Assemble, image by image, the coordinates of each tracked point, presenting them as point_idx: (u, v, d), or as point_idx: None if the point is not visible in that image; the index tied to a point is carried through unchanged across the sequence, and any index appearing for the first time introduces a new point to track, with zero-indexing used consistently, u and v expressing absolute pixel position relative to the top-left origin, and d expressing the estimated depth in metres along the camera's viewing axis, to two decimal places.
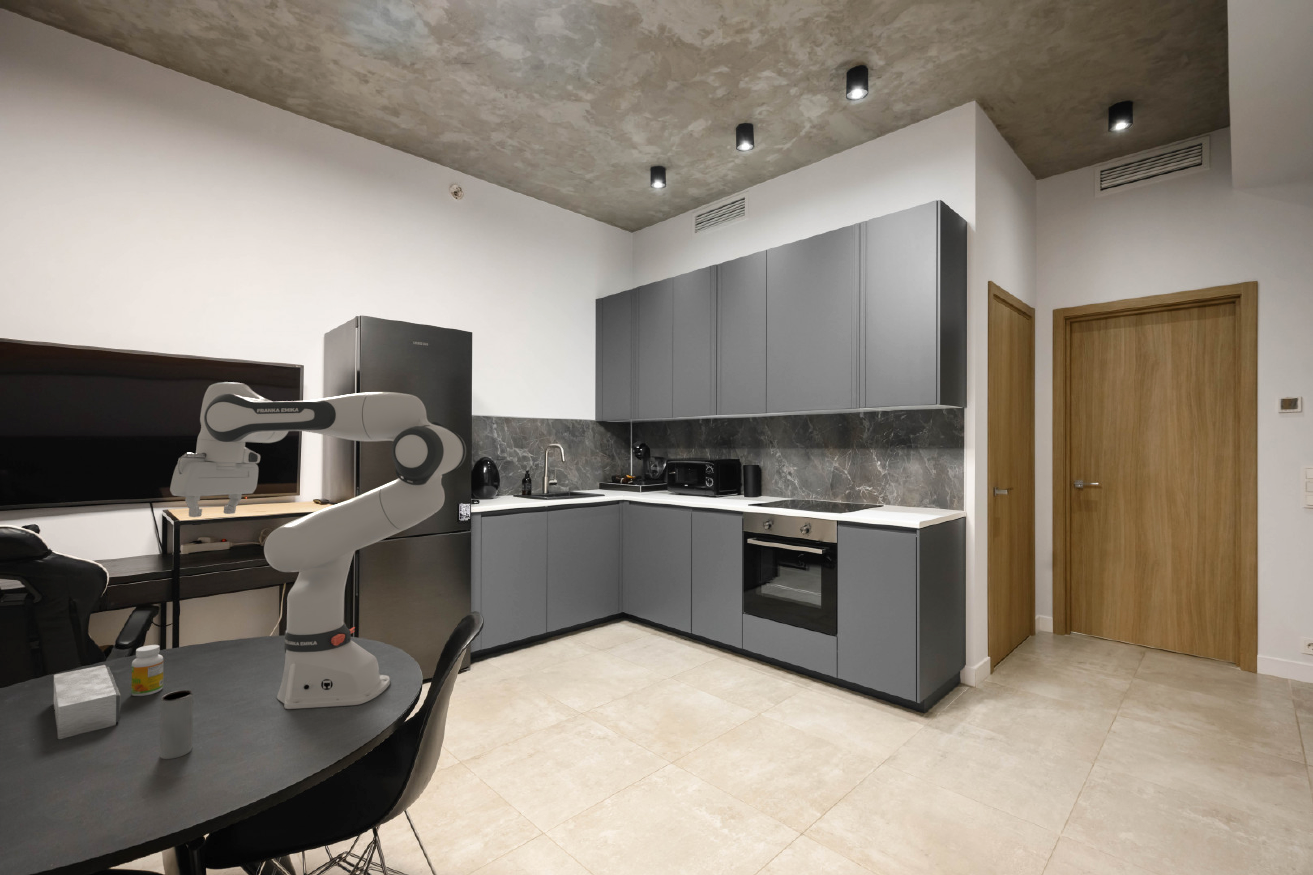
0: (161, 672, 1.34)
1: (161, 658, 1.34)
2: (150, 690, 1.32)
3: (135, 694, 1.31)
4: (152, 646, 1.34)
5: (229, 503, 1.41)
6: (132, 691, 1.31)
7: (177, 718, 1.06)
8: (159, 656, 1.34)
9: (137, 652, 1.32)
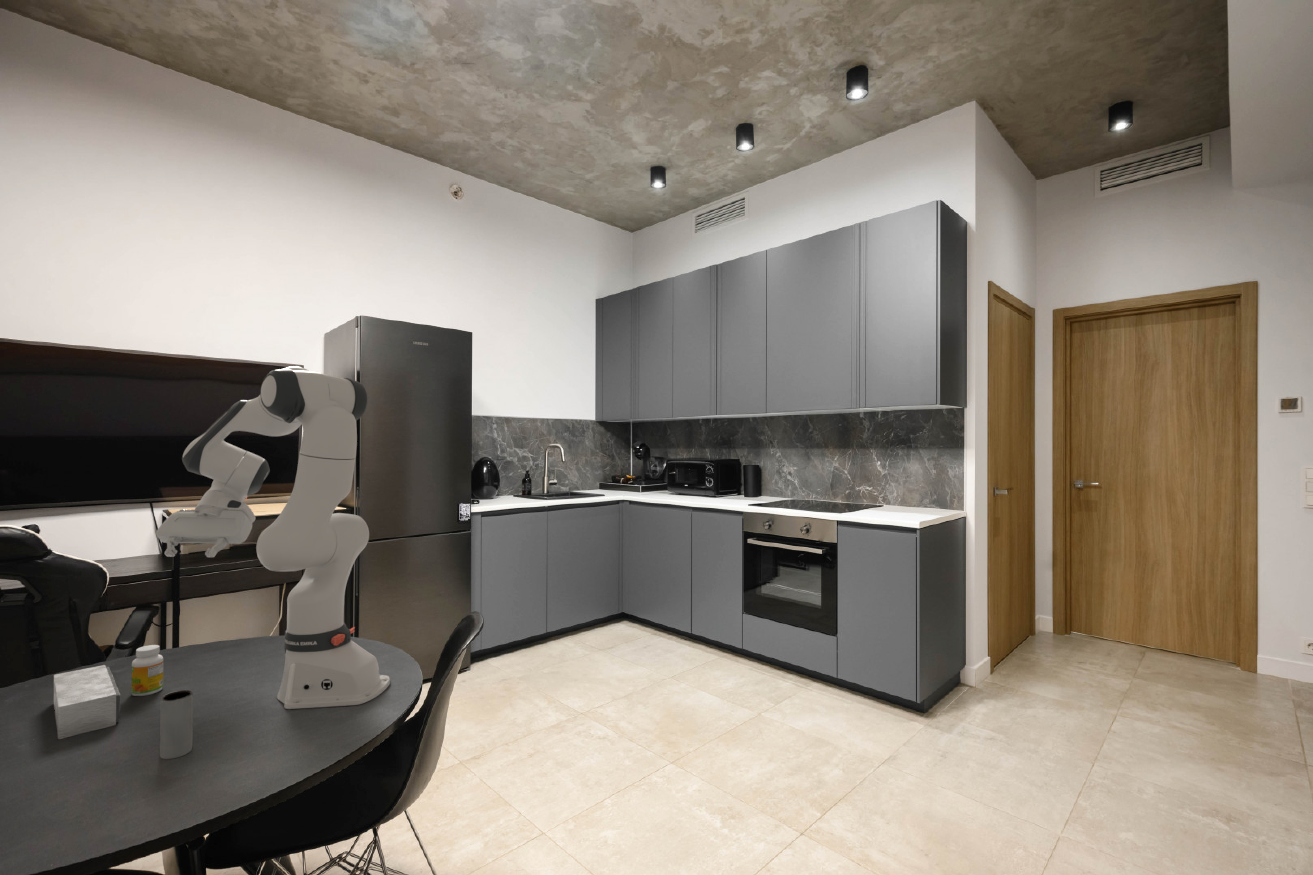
0: (161, 672, 1.34)
1: (161, 658, 1.34)
2: (150, 690, 1.32)
3: (135, 694, 1.31)
4: (152, 646, 1.34)
5: None
6: (132, 691, 1.31)
7: (177, 718, 1.06)
8: (159, 656, 1.34)
9: (137, 652, 1.32)
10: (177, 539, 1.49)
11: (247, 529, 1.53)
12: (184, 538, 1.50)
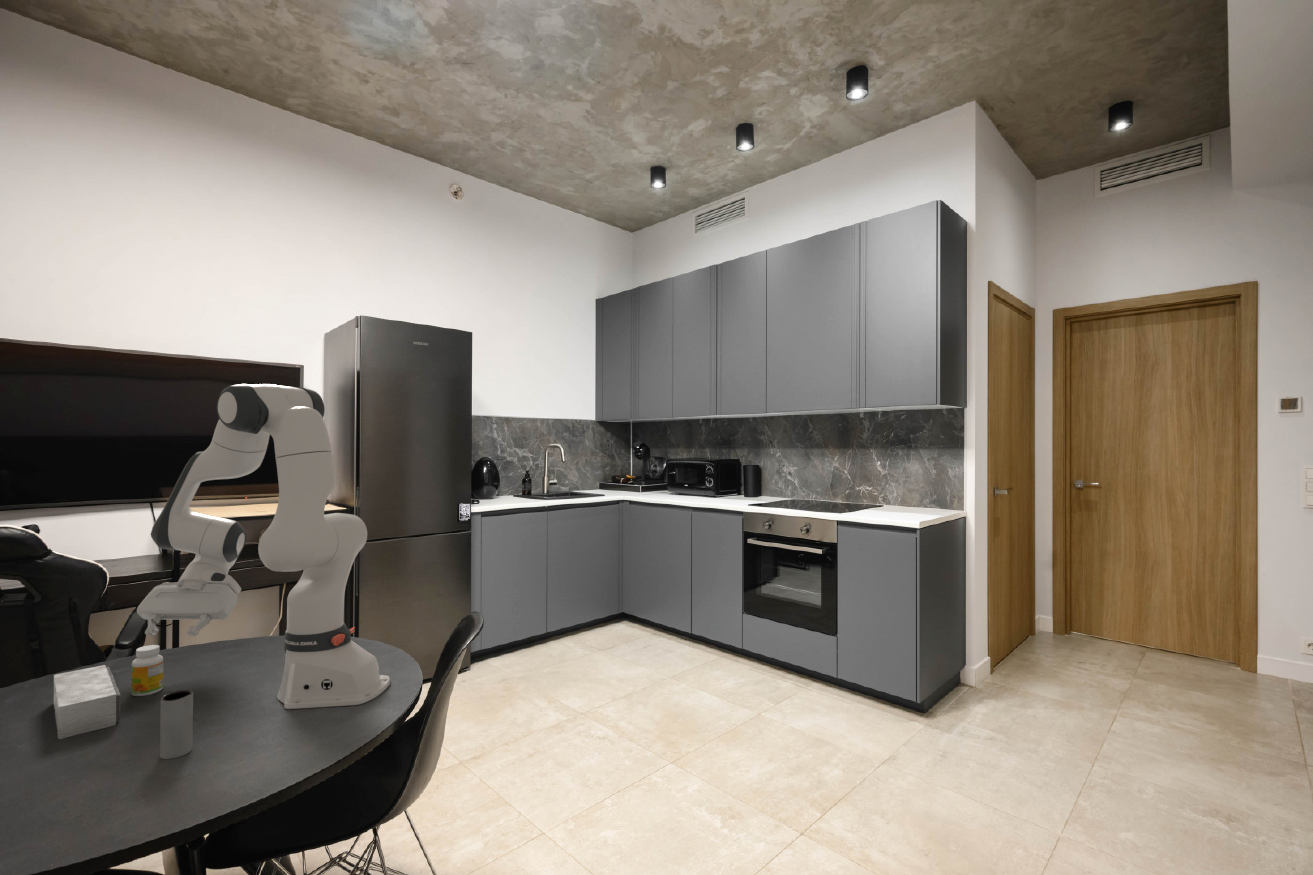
0: (161, 672, 1.34)
1: (161, 658, 1.34)
2: (150, 690, 1.32)
3: (135, 694, 1.31)
4: (152, 646, 1.34)
5: None
6: (132, 691, 1.31)
7: (177, 718, 1.06)
8: (159, 656, 1.34)
9: (137, 652, 1.32)
10: (159, 616, 1.43)
11: (232, 603, 1.47)
12: (166, 614, 1.44)
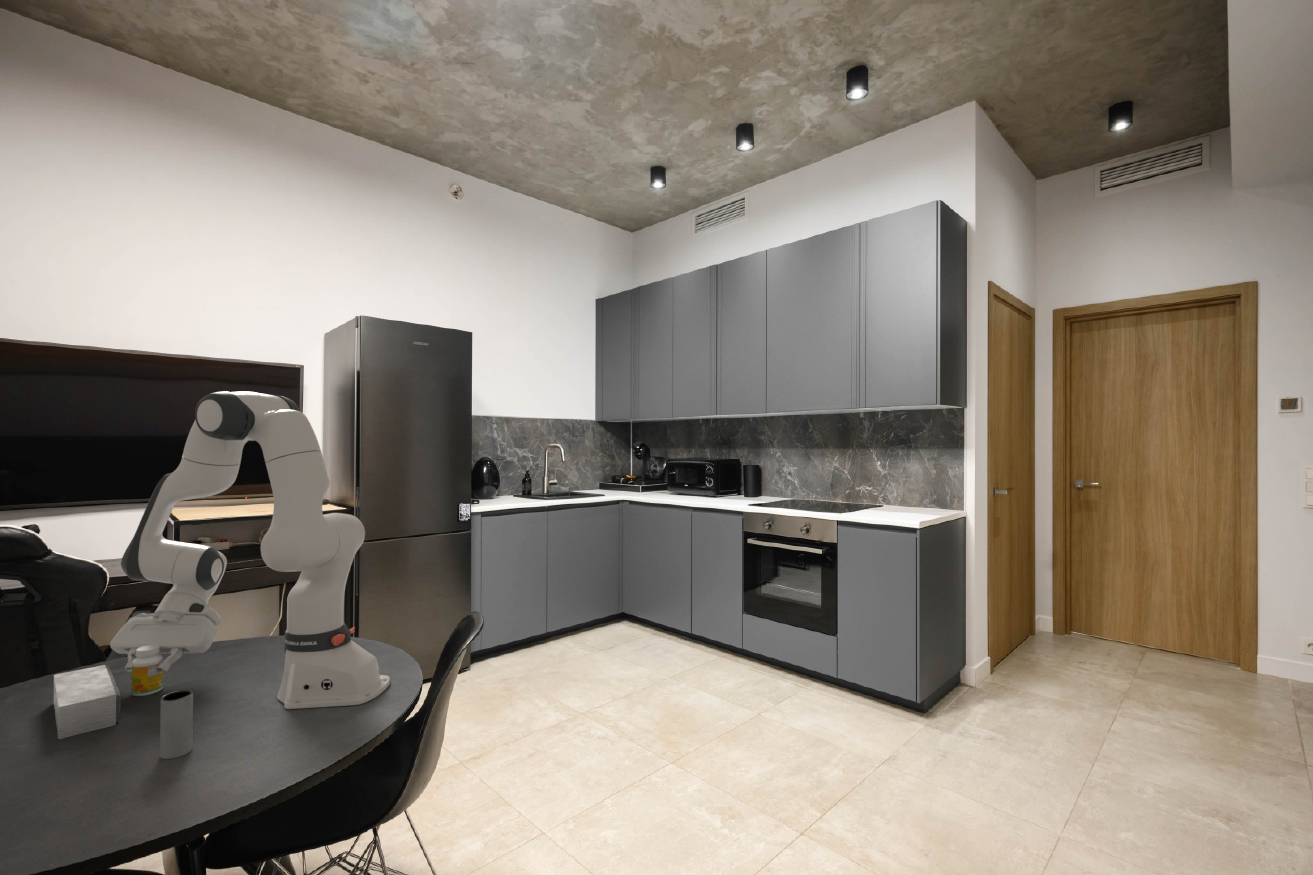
0: (161, 672, 1.34)
1: (161, 658, 1.34)
2: (150, 690, 1.32)
3: (135, 694, 1.31)
4: (152, 646, 1.34)
5: None
6: (132, 691, 1.31)
7: (177, 718, 1.06)
8: (159, 656, 1.34)
9: (137, 652, 1.32)
10: None
11: (211, 636, 1.40)
12: None
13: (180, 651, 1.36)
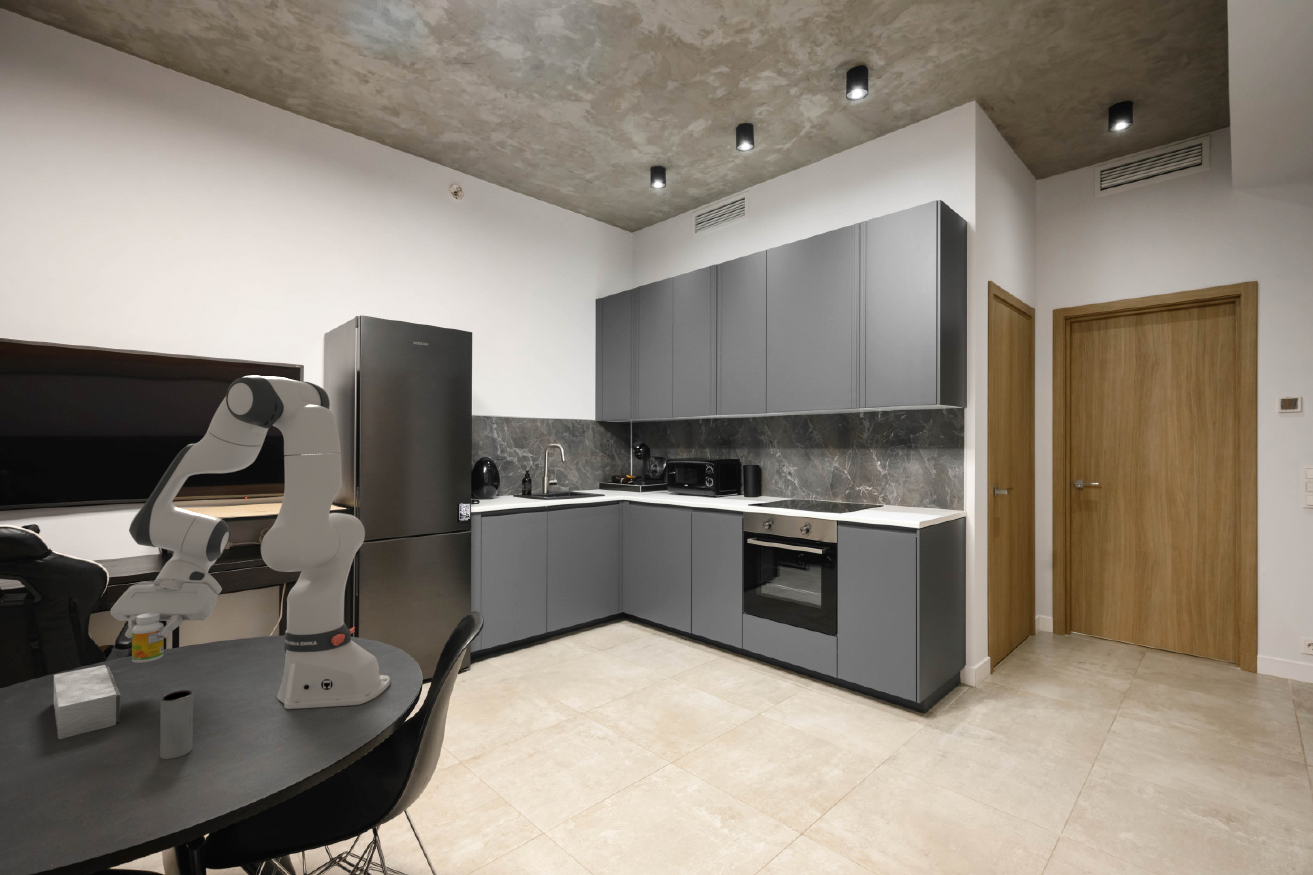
0: (161, 639, 1.34)
1: (161, 625, 1.34)
2: (151, 657, 1.32)
3: (136, 660, 1.31)
4: (152, 613, 1.35)
5: None
6: (133, 658, 1.31)
7: (177, 718, 1.06)
8: (159, 623, 1.35)
9: (137, 619, 1.32)
10: None
11: (211, 604, 1.40)
12: None
13: (180, 618, 1.36)
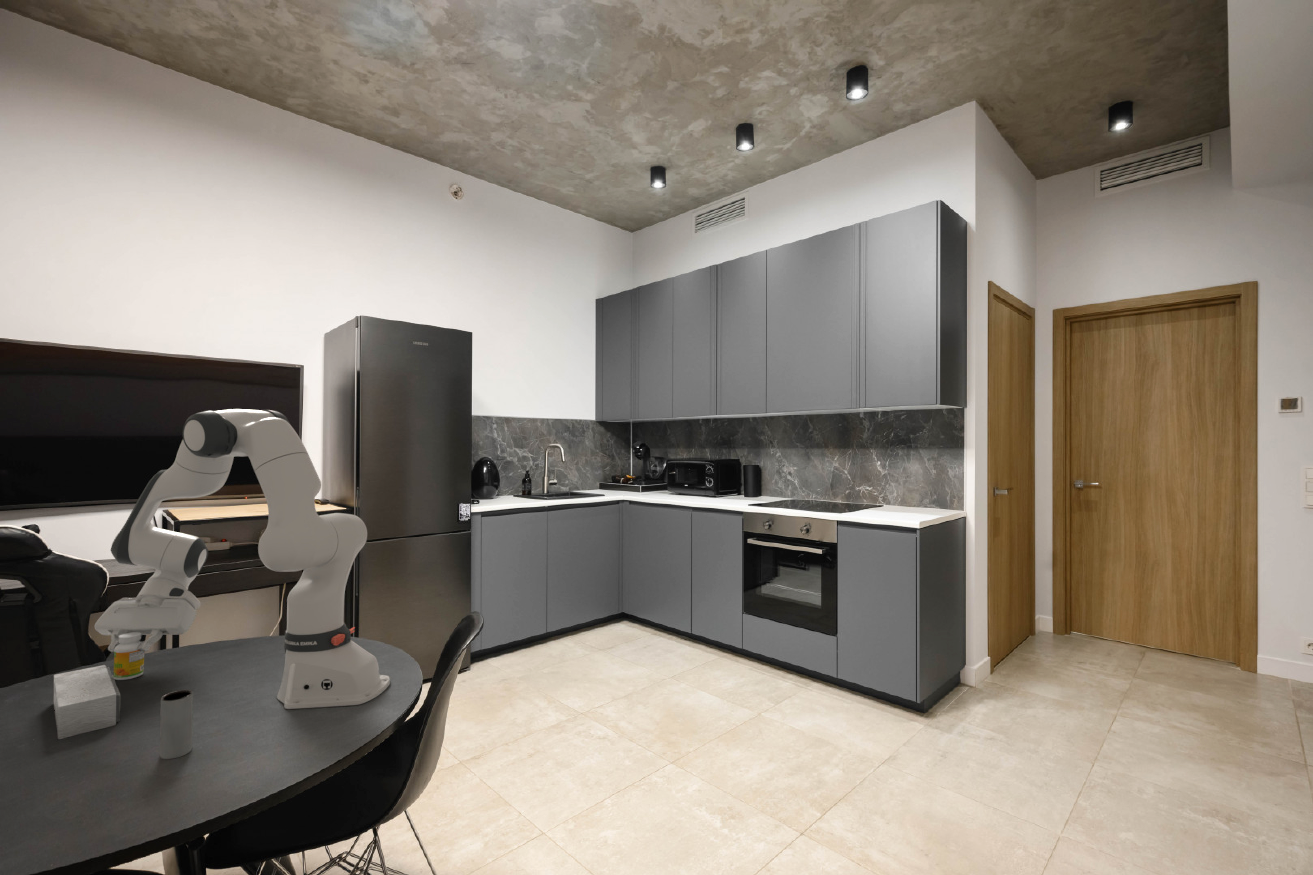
0: (142, 658, 1.42)
1: None
2: (131, 674, 1.40)
3: (117, 678, 1.39)
4: (134, 633, 1.43)
5: None
6: (114, 675, 1.40)
7: (177, 718, 1.06)
8: None
9: (119, 638, 1.40)
10: None
11: (190, 618, 1.48)
12: (130, 630, 1.45)
13: (160, 632, 1.45)
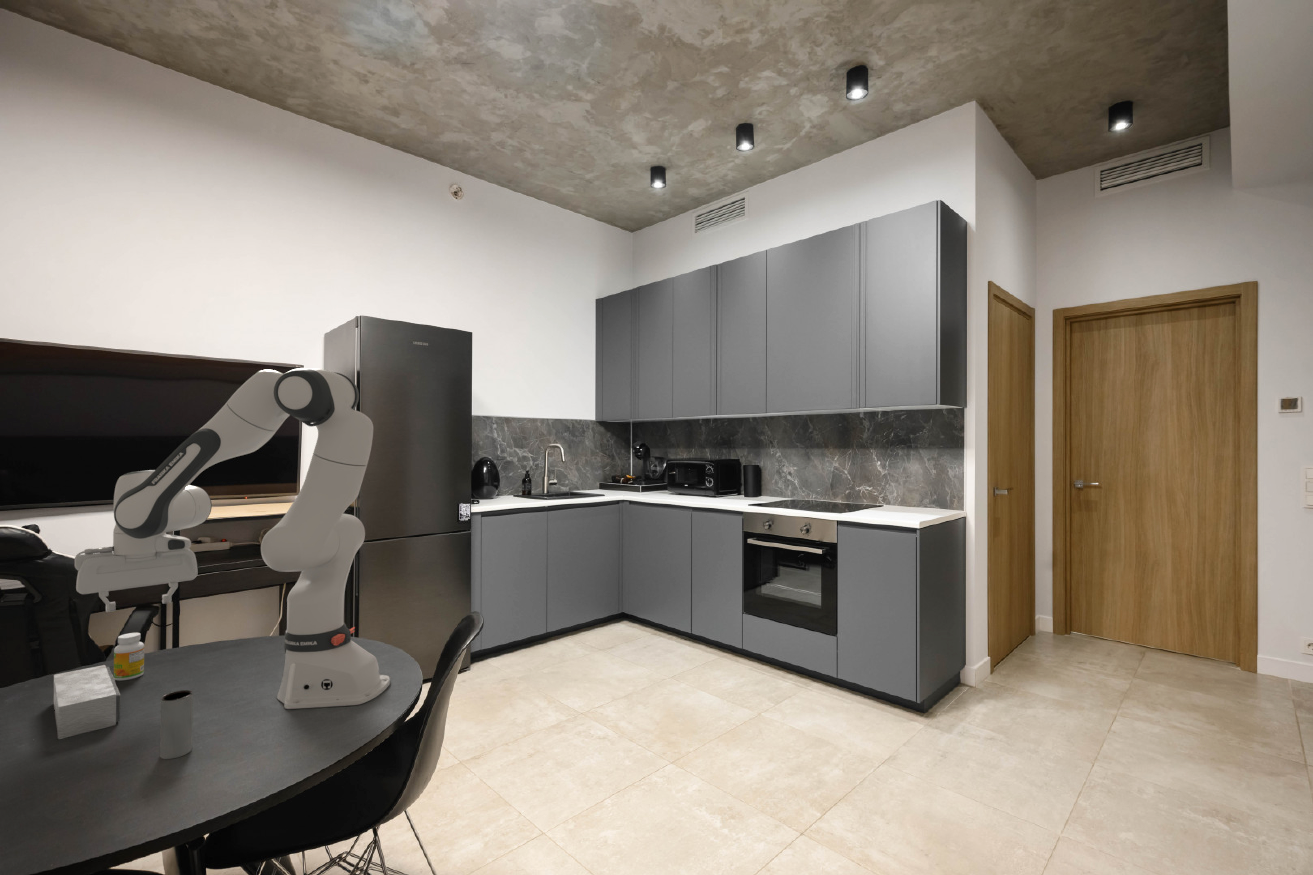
0: (142, 658, 1.42)
1: (142, 645, 1.43)
2: (131, 675, 1.40)
3: (117, 678, 1.39)
4: (133, 634, 1.43)
5: (168, 591, 1.37)
6: (114, 676, 1.40)
7: (177, 718, 1.06)
8: (140, 643, 1.43)
9: (119, 639, 1.40)
10: None
11: None
12: None
13: None
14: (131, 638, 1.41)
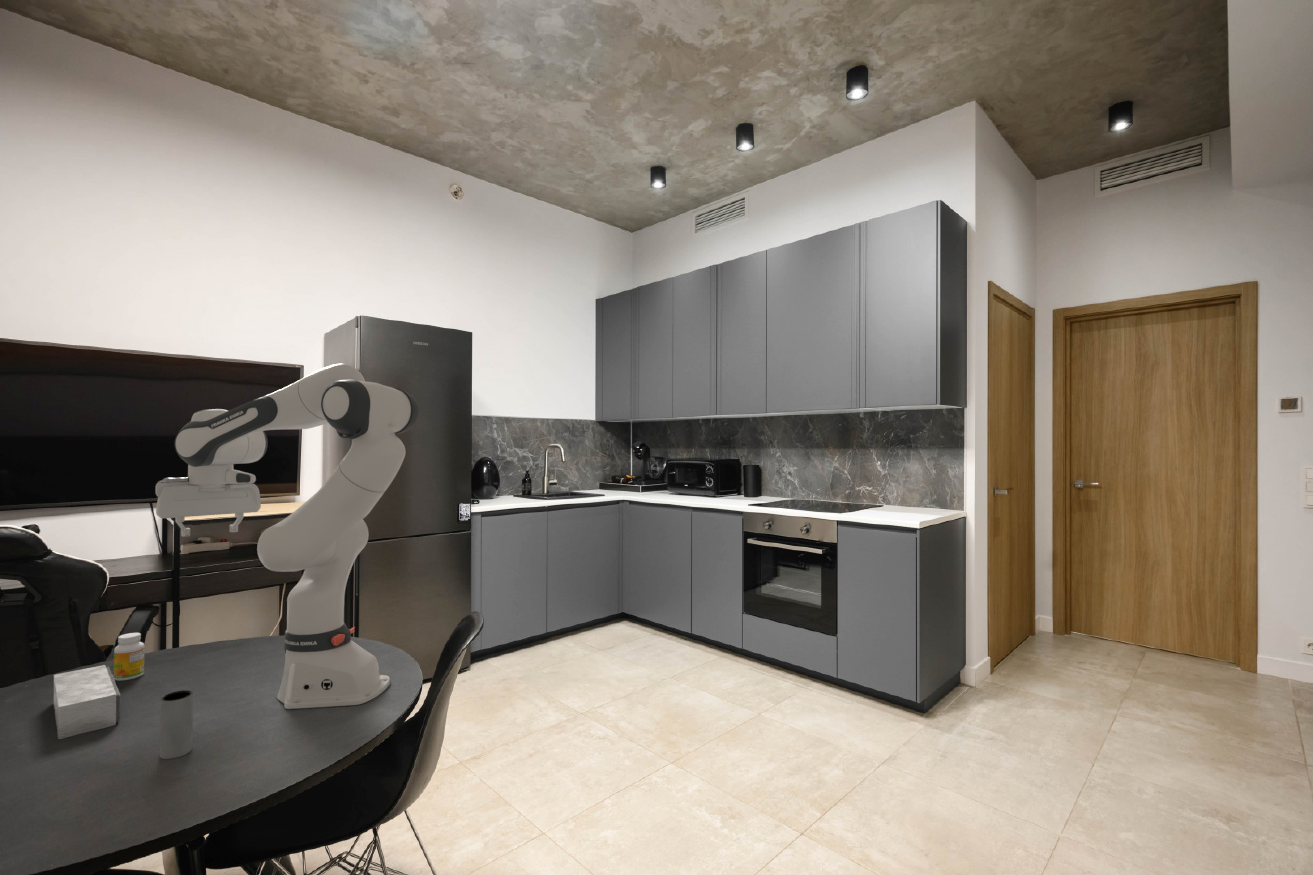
0: (142, 658, 1.42)
1: (142, 645, 1.43)
2: (131, 675, 1.40)
3: (117, 678, 1.39)
4: (134, 634, 1.43)
5: (234, 522, 1.50)
6: (114, 676, 1.40)
7: (177, 718, 1.06)
8: (140, 643, 1.43)
9: (119, 639, 1.40)
10: None
11: None
12: None
13: None
14: (131, 638, 1.41)
